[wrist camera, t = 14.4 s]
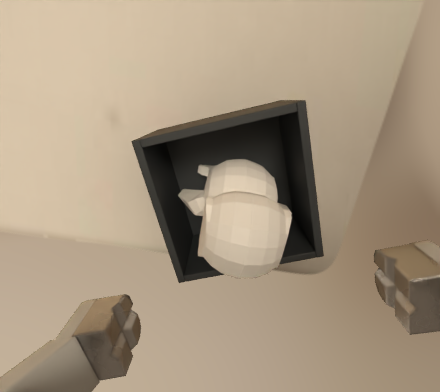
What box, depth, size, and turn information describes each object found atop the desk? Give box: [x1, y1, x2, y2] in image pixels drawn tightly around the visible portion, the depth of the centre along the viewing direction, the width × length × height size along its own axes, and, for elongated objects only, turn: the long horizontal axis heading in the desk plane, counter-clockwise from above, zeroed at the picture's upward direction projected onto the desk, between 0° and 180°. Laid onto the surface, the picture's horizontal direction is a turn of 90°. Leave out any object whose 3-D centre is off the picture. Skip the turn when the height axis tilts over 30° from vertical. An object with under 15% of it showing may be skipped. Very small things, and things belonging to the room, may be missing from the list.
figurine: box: [178, 159, 292, 278], centre depth 17 cm, size 8×5×12 cm, turn 81°
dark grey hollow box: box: [132, 100, 324, 283], centre depth 20 cm, size 10×10×6 cm
